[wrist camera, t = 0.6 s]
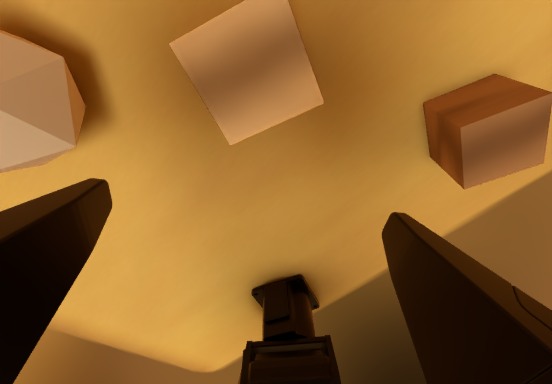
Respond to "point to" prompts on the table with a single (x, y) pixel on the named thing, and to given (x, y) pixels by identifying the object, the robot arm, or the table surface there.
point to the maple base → (250, 67)
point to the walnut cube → (488, 129)
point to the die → (35, 105)
